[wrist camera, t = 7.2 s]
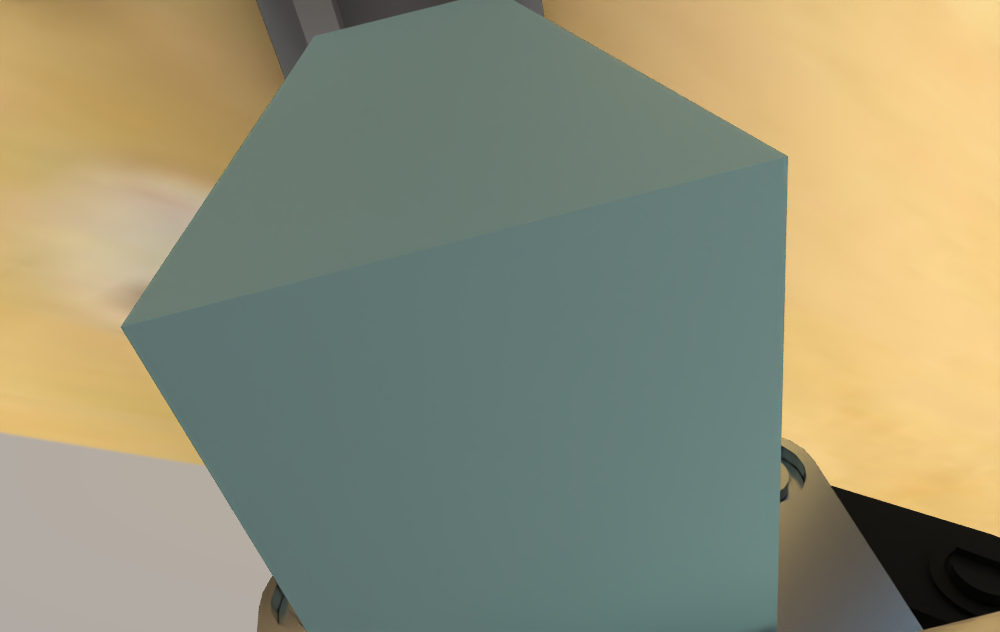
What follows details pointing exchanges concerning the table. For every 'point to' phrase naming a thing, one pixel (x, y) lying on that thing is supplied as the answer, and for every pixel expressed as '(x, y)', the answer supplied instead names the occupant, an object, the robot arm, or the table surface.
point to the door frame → (333, 20)
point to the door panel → (487, 337)
